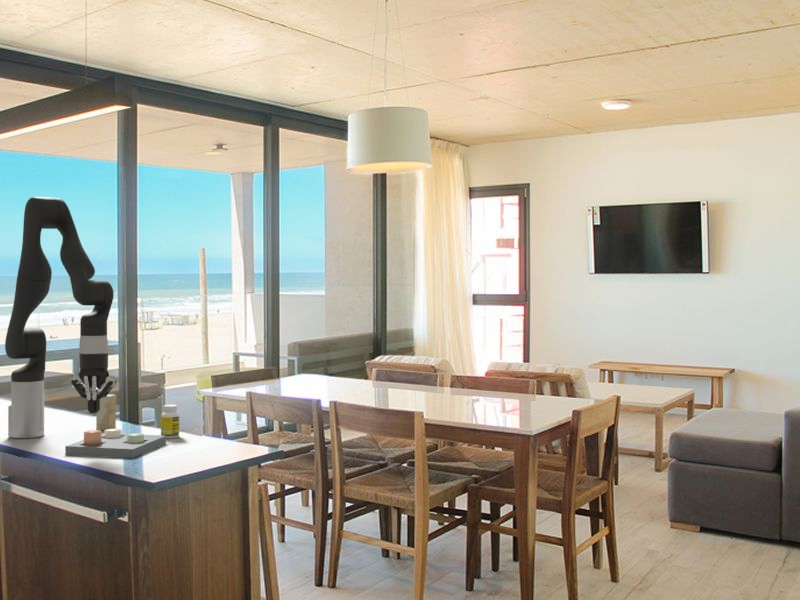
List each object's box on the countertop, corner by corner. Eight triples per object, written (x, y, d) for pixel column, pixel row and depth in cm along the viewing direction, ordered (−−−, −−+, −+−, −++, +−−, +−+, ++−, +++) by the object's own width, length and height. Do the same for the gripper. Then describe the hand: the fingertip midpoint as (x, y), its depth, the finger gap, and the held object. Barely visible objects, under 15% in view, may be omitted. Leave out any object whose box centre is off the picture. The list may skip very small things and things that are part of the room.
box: (108, 430, 258) (108, 396, 258) (95, 430, 259) (95, 396, 259) (116, 428, 263) (116, 394, 263) (104, 427, 264) (104, 393, 264)
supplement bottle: (174, 439, 246) (174, 407, 246) (157, 438, 247) (157, 406, 247) (182, 435, 251) (182, 404, 251) (166, 435, 252) (166, 403, 252)
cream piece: (101, 444, 235) (101, 431, 235) (109, 441, 239) (109, 428, 239) (116, 445, 234) (116, 431, 234) (124, 442, 238) (124, 429, 238)
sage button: (123, 450, 228) (123, 436, 227) (131, 446, 232) (132, 433, 232) (139, 450, 227) (139, 436, 227) (146, 447, 231) (146, 433, 231)
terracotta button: (80, 447, 224) (80, 432, 224) (89, 443, 228) (89, 429, 228) (95, 447, 223) (95, 433, 223) (104, 444, 227) (104, 430, 227)
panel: (65, 454, 222) (65, 446, 222) (103, 440, 242) (103, 432, 242) (132, 458, 219) (132, 449, 219) (166, 443, 239) (166, 435, 238)
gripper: (64, 352, 223) (64, 414, 223) (108, 353, 221) (108, 416, 221) (79, 350, 230) (79, 410, 230) (122, 350, 228) (122, 411, 228)
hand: (93, 413), depth 226 cm, fingers closed
